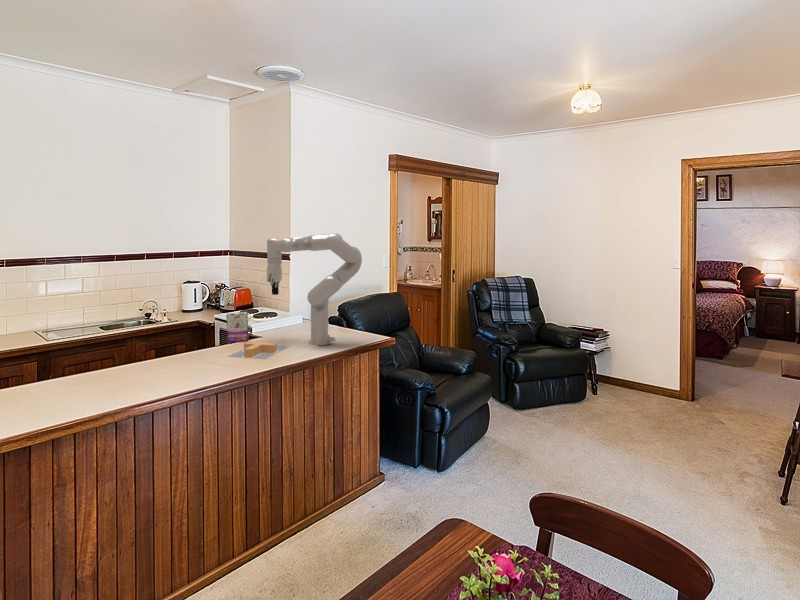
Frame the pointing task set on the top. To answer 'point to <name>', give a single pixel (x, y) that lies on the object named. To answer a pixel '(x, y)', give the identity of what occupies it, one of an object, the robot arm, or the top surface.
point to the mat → (261, 355)
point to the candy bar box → (237, 327)
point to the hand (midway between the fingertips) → (275, 294)
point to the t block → (258, 348)
